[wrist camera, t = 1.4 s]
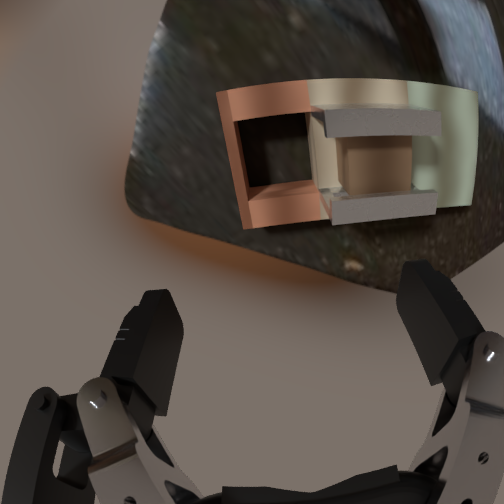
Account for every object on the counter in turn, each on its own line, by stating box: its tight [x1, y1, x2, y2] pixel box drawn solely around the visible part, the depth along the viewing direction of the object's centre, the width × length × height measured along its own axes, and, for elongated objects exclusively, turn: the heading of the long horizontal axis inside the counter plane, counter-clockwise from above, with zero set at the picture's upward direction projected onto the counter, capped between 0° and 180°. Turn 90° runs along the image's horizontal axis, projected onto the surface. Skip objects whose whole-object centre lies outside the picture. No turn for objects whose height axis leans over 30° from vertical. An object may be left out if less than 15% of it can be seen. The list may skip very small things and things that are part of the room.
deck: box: [216, 78, 478, 229], centre depth 25 cm, size 28×14×4 cm, turn 99°
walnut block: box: [335, 135, 412, 196], centre depth 22 cm, size 6×6×4 cm
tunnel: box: [310, 103, 441, 225], centre depth 21 cm, size 10×9×6 cm
